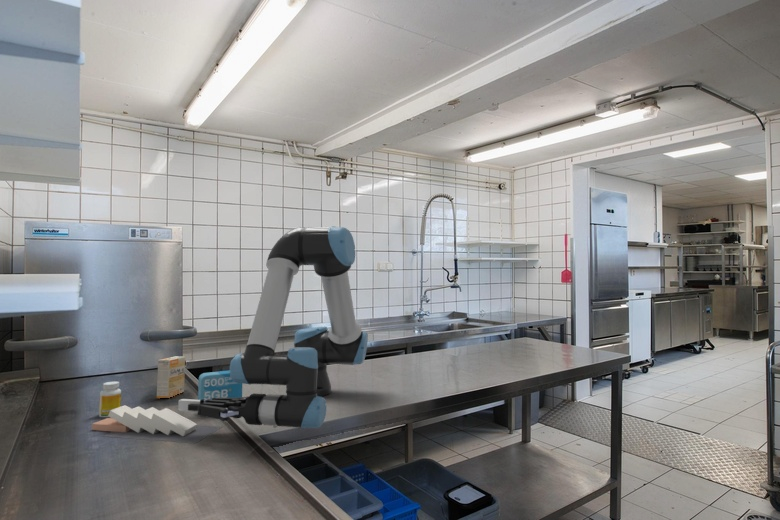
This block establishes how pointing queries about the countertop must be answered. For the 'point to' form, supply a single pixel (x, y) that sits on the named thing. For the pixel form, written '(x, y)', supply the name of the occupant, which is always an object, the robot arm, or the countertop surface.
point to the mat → (191, 437)
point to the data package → (218, 386)
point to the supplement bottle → (109, 398)
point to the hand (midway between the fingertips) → (180, 404)
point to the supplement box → (170, 376)
